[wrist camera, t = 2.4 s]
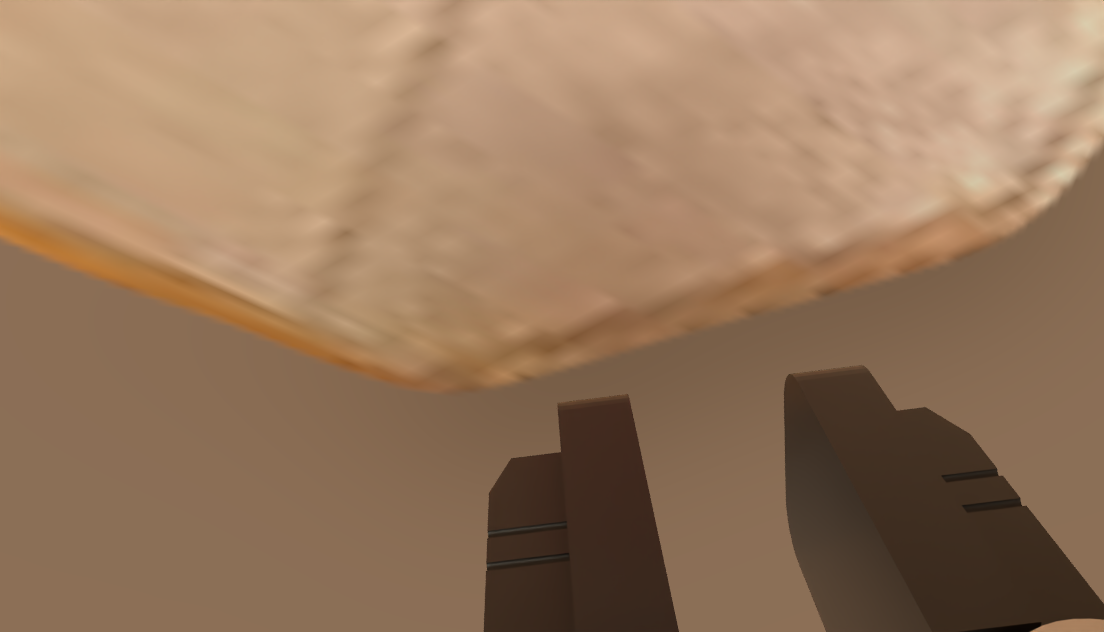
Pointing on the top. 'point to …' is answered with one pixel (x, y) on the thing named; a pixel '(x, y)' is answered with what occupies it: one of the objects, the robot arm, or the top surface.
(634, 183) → the top surface
